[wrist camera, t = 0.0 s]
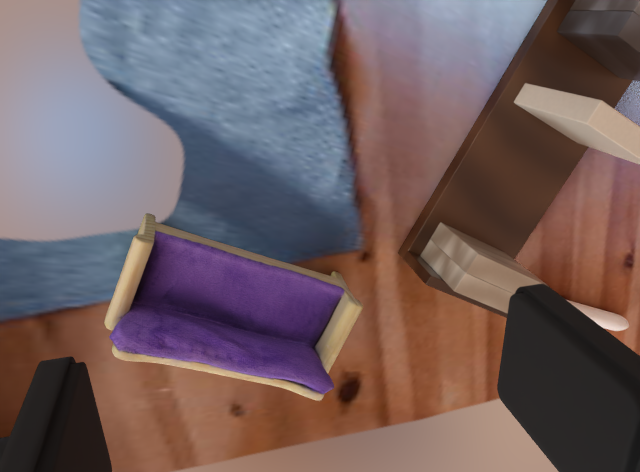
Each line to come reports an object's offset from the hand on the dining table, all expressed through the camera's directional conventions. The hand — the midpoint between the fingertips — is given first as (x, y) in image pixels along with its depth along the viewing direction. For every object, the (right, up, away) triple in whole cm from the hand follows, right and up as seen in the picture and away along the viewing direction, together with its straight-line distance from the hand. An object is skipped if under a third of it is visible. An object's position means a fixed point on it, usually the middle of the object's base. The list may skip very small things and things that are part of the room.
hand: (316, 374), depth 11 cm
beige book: (+22, +15, +39) cm, 47 cm away
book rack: (+21, +13, +41) cm, 48 cm away
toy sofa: (-8, -1, +40) cm, 41 cm away
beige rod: (+30, -5, +52) cm, 60 cm away
